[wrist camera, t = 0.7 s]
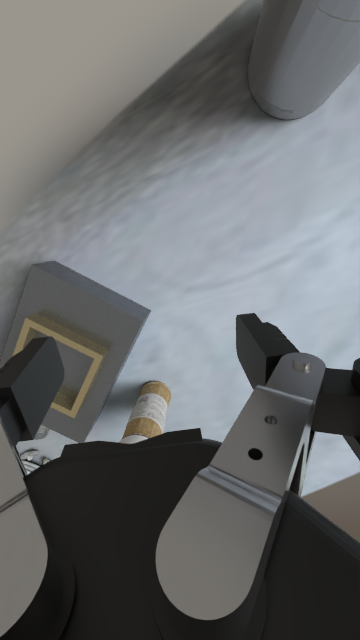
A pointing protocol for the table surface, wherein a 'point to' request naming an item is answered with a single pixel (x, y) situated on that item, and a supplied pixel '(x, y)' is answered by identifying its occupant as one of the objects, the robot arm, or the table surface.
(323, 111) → the table surface
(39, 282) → the grey block with recess
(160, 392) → the sprinkles bottle
